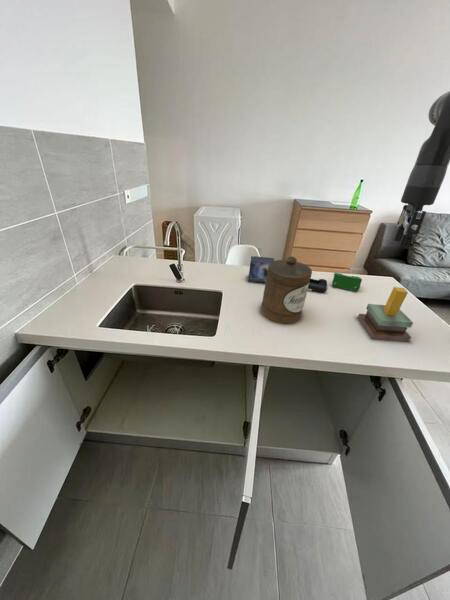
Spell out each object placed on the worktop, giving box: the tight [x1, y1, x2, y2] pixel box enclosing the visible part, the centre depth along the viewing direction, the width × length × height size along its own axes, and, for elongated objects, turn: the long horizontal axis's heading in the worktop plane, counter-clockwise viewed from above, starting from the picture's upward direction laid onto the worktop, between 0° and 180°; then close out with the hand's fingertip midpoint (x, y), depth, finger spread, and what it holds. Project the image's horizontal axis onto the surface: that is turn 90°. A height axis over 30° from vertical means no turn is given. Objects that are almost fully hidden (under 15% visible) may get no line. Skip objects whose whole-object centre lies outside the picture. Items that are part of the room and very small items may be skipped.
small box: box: [247, 255, 275, 284], centre depth 111 cm, size 11×6×10 cm, turn 83°
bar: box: [383, 286, 409, 316], centre depth 79 cm, size 3×3×9 cm
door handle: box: [307, 278, 328, 293], centre depth 113 cm, size 3×20×16 cm
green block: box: [331, 272, 363, 292], centre depth 111 cm, size 12×6×9 cm, turn 62°
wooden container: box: [260, 256, 313, 324], centre depth 86 cm, size 15×15×22 cm
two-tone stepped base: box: [357, 303, 414, 342], centre depth 84 cm, size 12×12×7 cm
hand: (400, 244), depth 72 cm, fingers open, 8 cm apart
